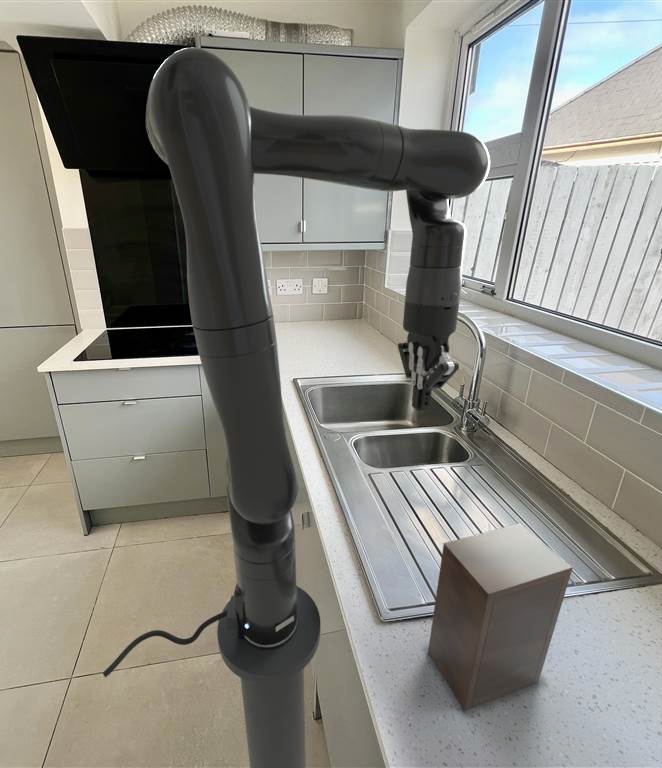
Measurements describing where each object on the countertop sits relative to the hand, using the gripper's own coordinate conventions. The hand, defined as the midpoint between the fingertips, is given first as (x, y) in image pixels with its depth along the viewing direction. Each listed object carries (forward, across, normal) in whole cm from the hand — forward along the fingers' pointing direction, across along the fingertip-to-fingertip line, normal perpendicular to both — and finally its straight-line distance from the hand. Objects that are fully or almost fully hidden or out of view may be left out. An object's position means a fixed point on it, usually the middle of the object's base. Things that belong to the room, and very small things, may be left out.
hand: (420, 408), depth 64 cm
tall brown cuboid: (+31, +20, 0) cm, 37 cm away
